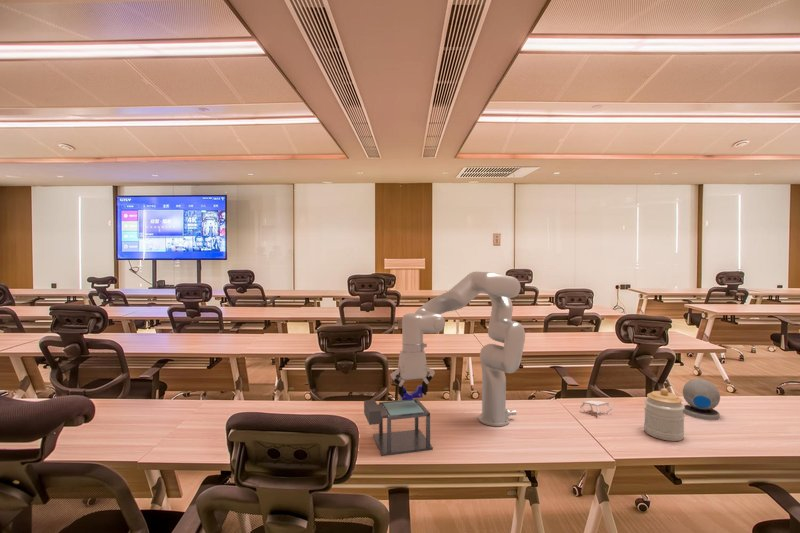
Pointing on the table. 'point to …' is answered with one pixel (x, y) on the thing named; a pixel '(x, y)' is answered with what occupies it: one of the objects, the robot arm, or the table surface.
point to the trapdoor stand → (404, 434)
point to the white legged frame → (596, 403)
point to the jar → (664, 415)
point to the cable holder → (412, 393)
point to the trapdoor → (388, 410)
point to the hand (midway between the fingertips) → (412, 394)
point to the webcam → (701, 399)
